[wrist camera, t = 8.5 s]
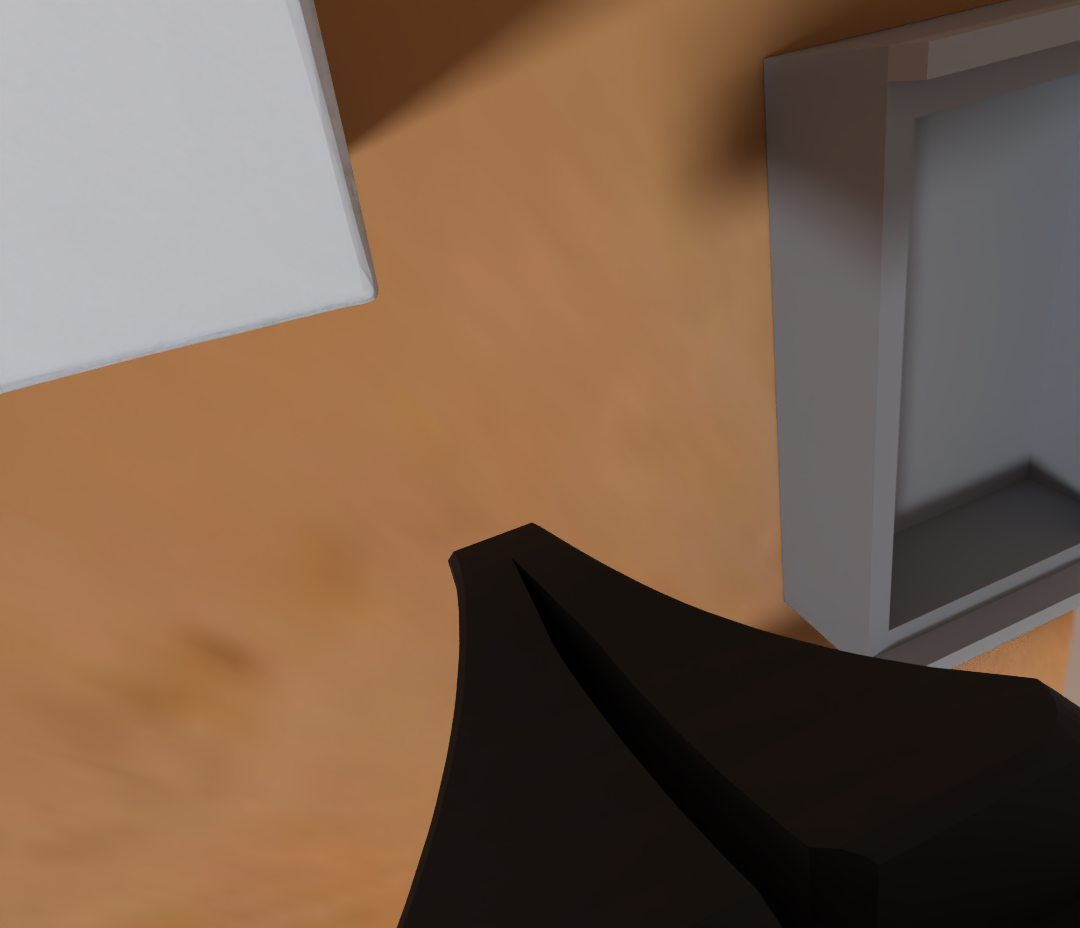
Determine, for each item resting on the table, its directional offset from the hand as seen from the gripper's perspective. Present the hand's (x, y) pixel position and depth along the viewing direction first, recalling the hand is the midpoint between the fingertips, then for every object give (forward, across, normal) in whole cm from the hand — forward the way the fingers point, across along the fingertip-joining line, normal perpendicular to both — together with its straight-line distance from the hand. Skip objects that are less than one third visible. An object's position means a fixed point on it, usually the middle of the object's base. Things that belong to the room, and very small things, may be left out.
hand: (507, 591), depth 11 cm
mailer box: (+10, -18, +4) cm, 21 cm away
